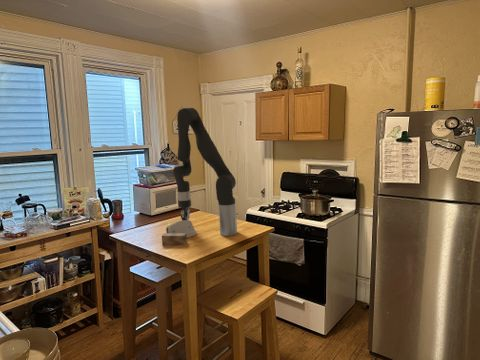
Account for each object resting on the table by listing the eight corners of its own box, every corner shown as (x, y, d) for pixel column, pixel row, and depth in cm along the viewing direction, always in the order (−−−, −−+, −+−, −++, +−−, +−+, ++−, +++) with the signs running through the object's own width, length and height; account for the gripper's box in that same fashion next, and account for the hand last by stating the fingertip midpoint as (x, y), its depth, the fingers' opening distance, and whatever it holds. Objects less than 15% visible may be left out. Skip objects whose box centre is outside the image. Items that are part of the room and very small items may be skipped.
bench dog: (187, 242, 170) (186, 233, 169) (185, 245, 166) (184, 235, 165) (165, 242, 171) (164, 233, 171) (162, 245, 167) (161, 235, 167)
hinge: (172, 242, 171) (167, 223, 172) (167, 243, 175) (163, 225, 176) (197, 234, 183) (192, 217, 184) (193, 235, 186) (188, 218, 187)
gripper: (187, 201, 182) (189, 230, 184) (193, 196, 195) (195, 224, 197) (174, 201, 182) (177, 231, 185) (181, 196, 195) (183, 224, 198)
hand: (186, 227), depth 191 cm, fingers closed
